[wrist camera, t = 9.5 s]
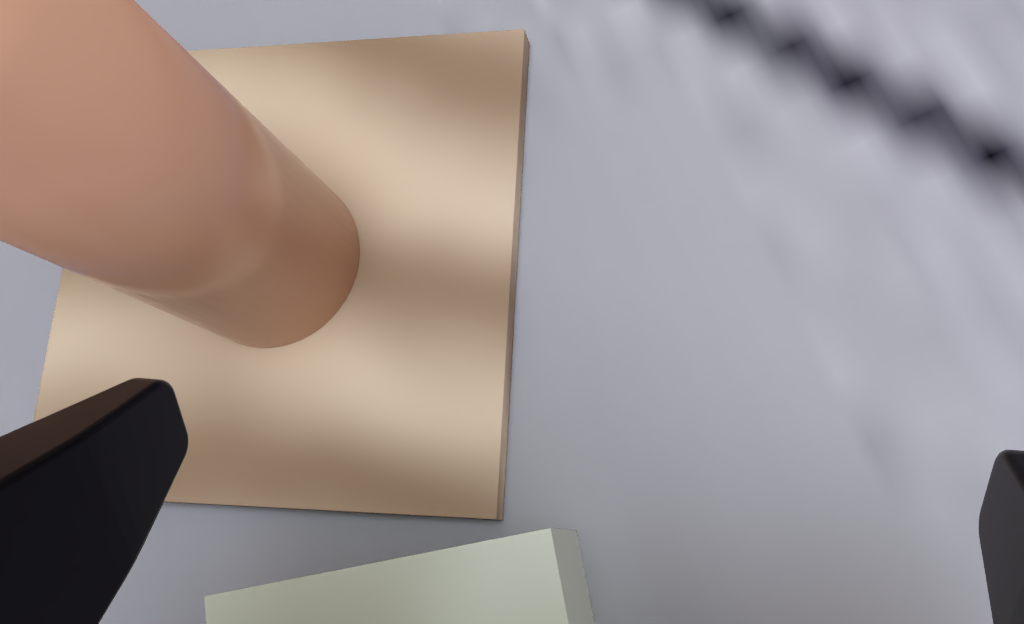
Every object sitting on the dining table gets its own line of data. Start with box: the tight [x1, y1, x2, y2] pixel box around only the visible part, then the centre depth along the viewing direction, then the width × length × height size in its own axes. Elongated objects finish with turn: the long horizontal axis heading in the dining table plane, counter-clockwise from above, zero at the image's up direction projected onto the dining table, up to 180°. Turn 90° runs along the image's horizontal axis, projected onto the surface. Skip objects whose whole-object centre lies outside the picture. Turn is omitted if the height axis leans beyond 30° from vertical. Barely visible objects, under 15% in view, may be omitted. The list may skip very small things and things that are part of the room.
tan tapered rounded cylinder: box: [0, 0, 360, 348], centre depth 19 cm, size 5×5×12 cm
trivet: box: [33, 29, 529, 520], centre depth 25 cm, size 14×14×1 cm
